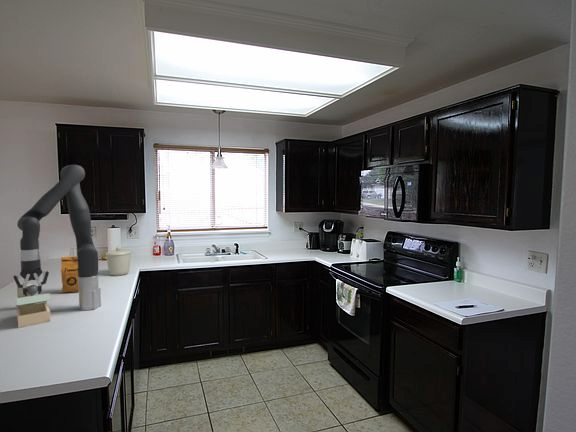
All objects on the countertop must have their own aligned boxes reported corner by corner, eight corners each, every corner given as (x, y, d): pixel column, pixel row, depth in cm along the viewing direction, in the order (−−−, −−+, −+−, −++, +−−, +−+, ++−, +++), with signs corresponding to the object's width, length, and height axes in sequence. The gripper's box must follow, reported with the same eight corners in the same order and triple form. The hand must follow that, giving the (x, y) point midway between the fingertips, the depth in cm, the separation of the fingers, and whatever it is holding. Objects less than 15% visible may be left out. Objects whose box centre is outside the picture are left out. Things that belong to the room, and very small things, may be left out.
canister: (134, 275, 259) (133, 247, 258) (107, 278, 249) (106, 249, 247) (130, 270, 274) (129, 244, 273) (104, 273, 264) (103, 246, 262)
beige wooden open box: (17, 317, 170) (16, 307, 170) (46, 311, 178) (46, 302, 178) (18, 327, 156) (17, 316, 156) (50, 321, 164) (49, 311, 164)
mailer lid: (16, 311, 169) (15, 293, 172) (47, 306, 177) (45, 288, 179) (16, 305, 155) (15, 285, 158) (50, 300, 163) (48, 281, 165)
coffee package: (83, 292, 213) (81, 257, 211) (59, 294, 209) (58, 258, 207) (87, 288, 222) (85, 254, 221) (64, 290, 218) (63, 255, 217)
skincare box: (17, 309, 181) (16, 286, 181) (20, 307, 185) (18, 284, 185) (32, 308, 184) (31, 285, 183) (34, 305, 188) (33, 283, 187)
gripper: (48, 256, 171) (49, 290, 172) (10, 259, 161) (13, 295, 162) (49, 258, 165) (51, 293, 166) (11, 261, 156) (13, 299, 157)
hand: (32, 294), depth 164 cm, fingers closed on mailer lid, 4 cm apart
